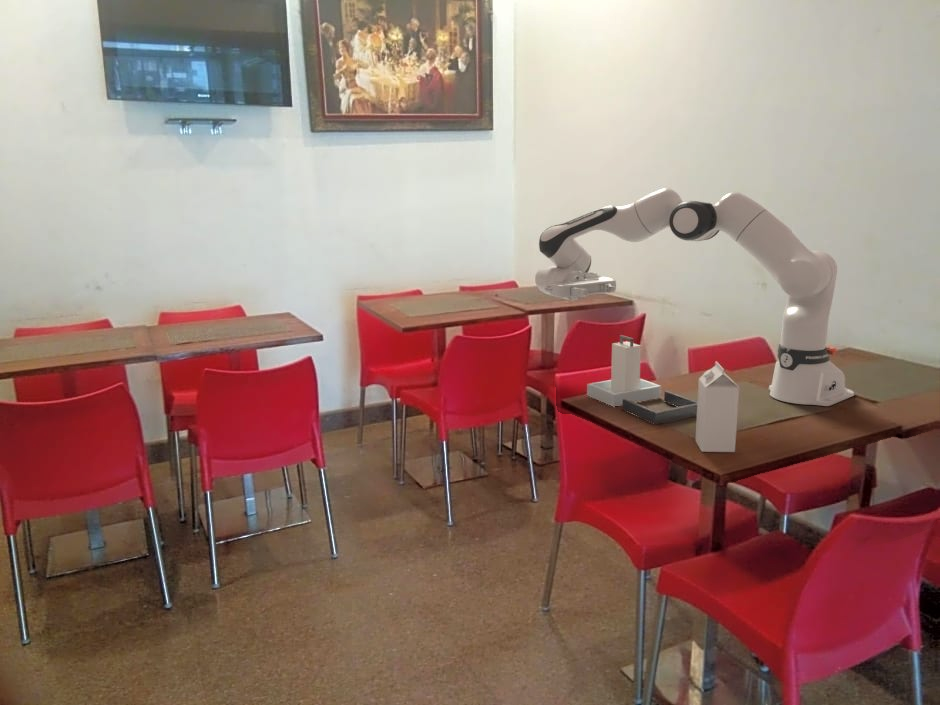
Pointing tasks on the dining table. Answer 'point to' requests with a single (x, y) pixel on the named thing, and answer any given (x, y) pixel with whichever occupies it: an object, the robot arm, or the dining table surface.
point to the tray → (615, 399)
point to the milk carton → (716, 411)
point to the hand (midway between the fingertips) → (599, 291)
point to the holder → (657, 417)
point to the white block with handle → (625, 365)
